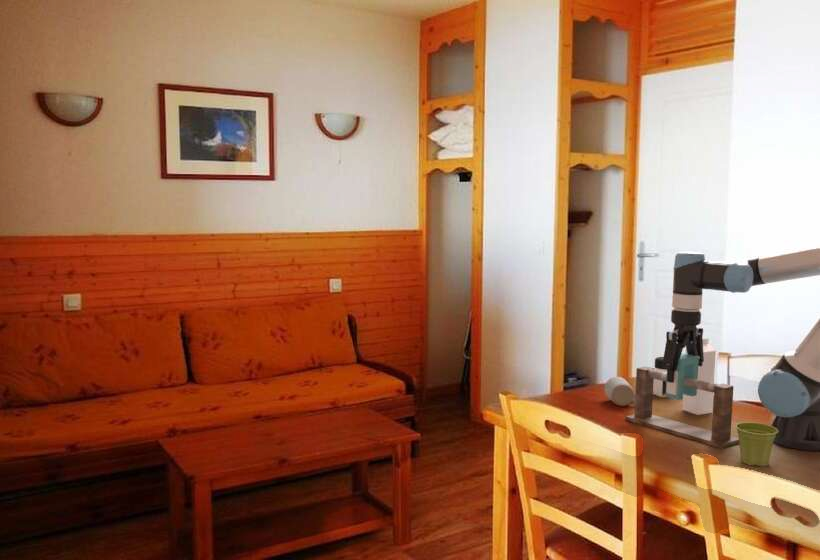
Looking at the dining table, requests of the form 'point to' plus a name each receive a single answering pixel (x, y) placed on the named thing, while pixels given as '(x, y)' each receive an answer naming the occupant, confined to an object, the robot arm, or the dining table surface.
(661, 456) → the dining table surface
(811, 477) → the dining table surface
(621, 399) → the ceramic mug
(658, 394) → the medicine bottle
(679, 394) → the teal block
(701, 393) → the milk
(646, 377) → the hanger stand
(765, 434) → the plant pot
